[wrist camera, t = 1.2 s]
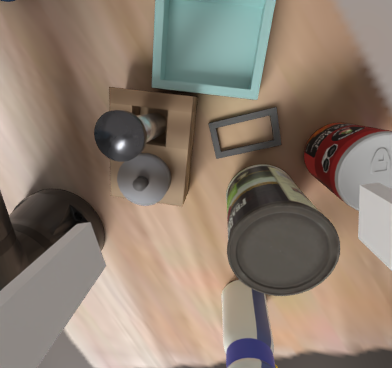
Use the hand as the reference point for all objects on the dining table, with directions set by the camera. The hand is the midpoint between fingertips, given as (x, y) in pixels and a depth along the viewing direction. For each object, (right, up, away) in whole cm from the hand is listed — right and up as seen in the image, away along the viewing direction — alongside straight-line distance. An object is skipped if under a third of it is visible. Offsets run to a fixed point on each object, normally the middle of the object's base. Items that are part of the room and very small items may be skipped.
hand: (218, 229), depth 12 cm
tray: (+1, +19, +18) cm, 27 cm away
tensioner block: (-7, +8, +23) cm, 25 cm away
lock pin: (-6, +10, +20) cm, 23 cm away
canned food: (+17, +7, +21) cm, 28 cm away
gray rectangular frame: (+6, +9, +21) cm, 24 cm away
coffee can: (+9, 0, +24) cm, 26 cm away
